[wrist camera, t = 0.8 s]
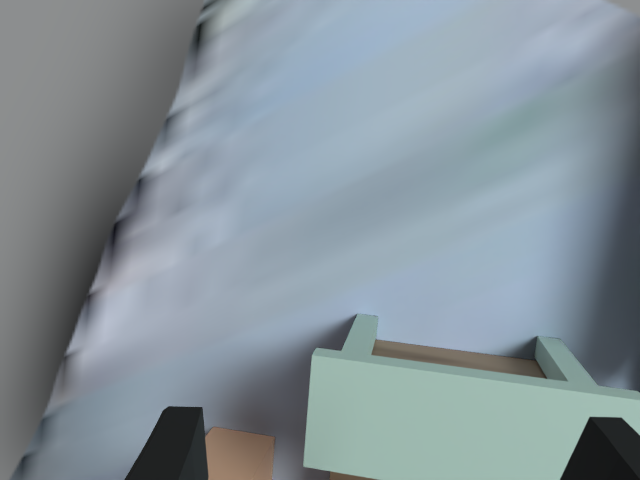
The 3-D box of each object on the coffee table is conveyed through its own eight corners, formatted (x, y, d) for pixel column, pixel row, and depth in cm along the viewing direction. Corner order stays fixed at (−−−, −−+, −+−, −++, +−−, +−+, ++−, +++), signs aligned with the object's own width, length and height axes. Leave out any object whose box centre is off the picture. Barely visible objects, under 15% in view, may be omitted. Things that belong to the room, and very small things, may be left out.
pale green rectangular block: (566, 416, 31) (627, 522, 22) (336, 383, 33) (303, 466, 24) (579, 330, 30) (648, 401, 21) (343, 302, 33) (312, 355, 23)
